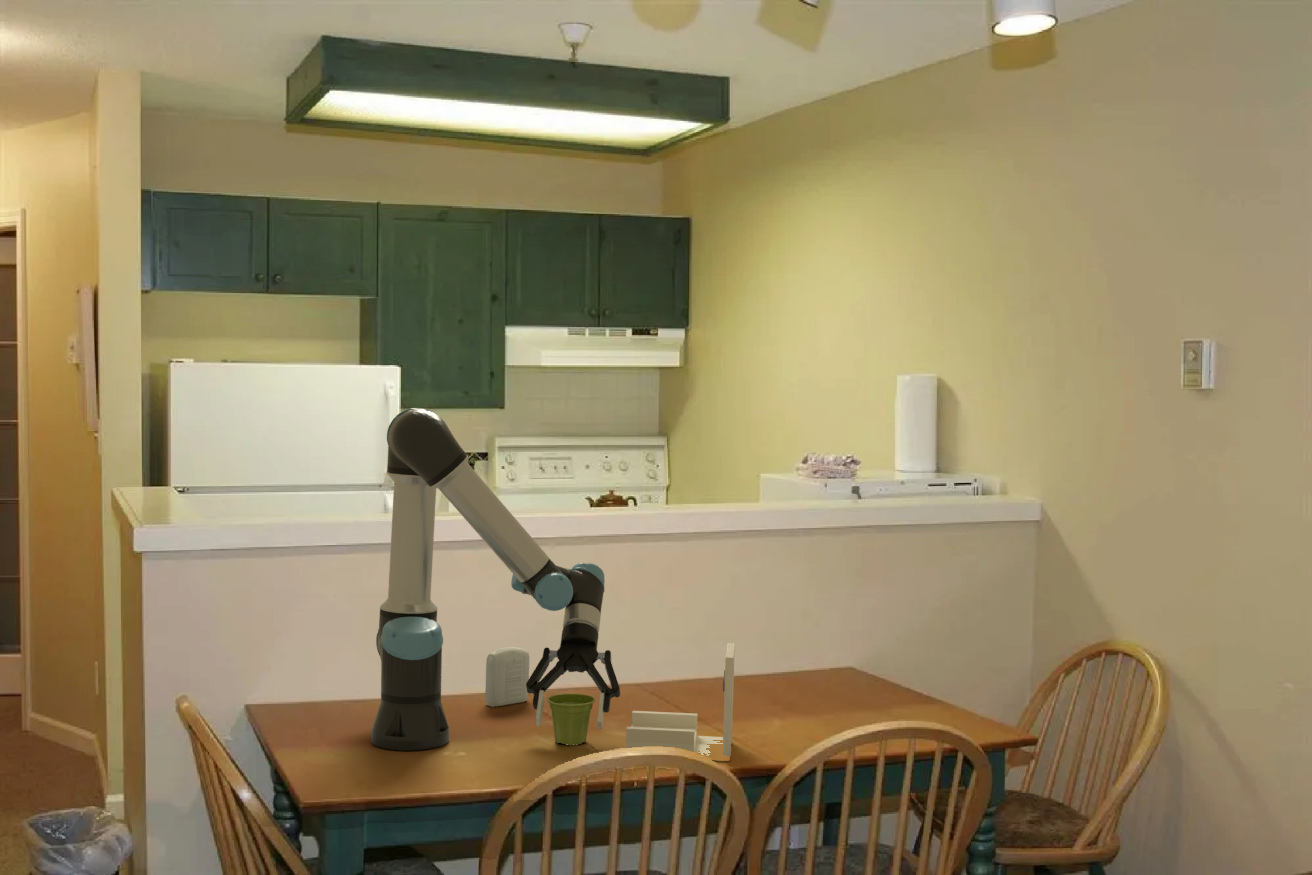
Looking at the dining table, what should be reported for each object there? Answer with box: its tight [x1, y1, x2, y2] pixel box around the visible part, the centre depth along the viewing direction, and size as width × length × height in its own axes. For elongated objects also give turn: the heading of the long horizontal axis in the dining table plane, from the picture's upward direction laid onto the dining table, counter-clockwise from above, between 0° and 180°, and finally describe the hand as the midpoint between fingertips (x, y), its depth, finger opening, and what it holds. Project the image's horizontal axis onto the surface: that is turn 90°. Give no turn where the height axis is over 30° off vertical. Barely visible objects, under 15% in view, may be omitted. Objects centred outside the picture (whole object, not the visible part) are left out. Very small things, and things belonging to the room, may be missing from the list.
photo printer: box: [484, 646, 530, 708], centre depth 308 cm, size 10×4×12 cm, turn 134°
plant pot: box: [547, 693, 596, 746], centre depth 278 cm, size 9×9×9 cm
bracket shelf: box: [625, 642, 736, 757], centre depth 275 cm, size 14×20×20 cm
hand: (568, 724), depth 276 cm, fingers open, 11 cm apart
